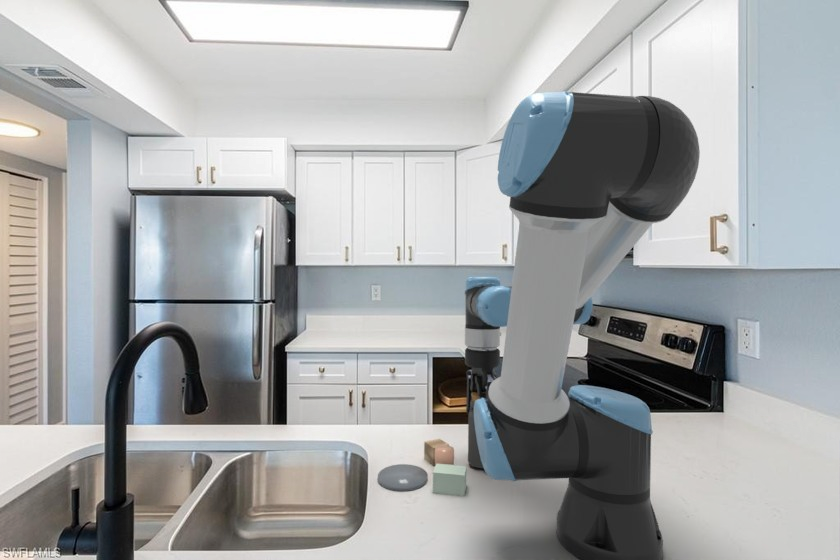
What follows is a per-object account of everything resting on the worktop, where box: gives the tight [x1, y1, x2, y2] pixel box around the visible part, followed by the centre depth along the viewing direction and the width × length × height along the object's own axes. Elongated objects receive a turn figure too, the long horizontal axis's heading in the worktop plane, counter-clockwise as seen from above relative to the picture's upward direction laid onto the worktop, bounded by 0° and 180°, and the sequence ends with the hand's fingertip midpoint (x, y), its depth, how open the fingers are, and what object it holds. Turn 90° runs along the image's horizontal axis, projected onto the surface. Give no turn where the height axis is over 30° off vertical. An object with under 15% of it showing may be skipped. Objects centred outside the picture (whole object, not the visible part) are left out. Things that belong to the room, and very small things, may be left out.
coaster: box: [377, 463, 429, 492], centre depth 87 cm, size 10×10×1 cm
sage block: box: [432, 463, 467, 497], centre depth 83 cm, size 4×6×4 cm, turn 79°
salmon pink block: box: [435, 445, 455, 465], centre depth 90 cm, size 4×4×5 cm
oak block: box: [423, 438, 450, 467], centre depth 96 cm, size 4×4×4 cm
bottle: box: [467, 392, 486, 469], centre depth 94 cm, size 6×6×15 cm
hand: (481, 454), depth 94 cm, fingers closed on bottle, 6 cm apart
